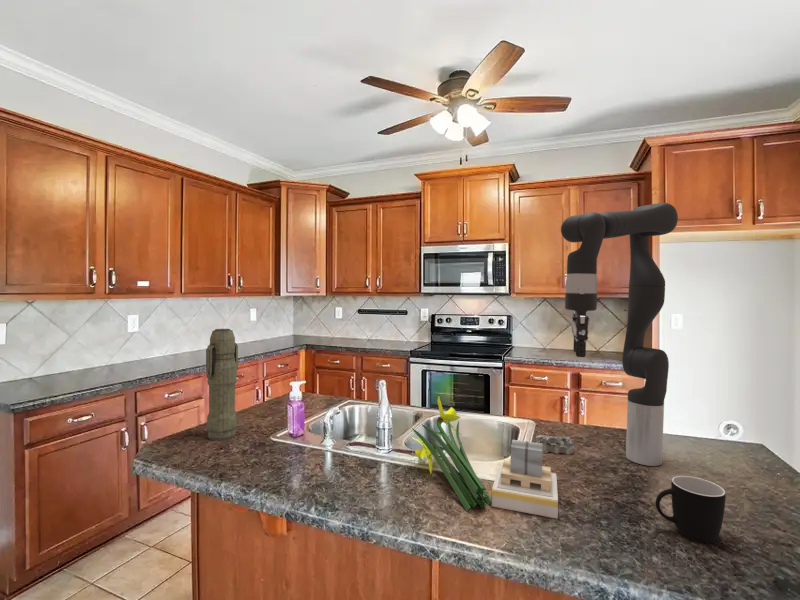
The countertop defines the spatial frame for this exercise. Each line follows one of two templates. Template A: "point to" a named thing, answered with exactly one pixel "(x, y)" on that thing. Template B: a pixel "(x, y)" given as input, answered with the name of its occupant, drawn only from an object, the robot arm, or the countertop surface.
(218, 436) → the thermos
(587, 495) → the countertop surface
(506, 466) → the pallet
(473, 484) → the daffodil flowers
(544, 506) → the dock
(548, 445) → the egg carton
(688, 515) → the mug
